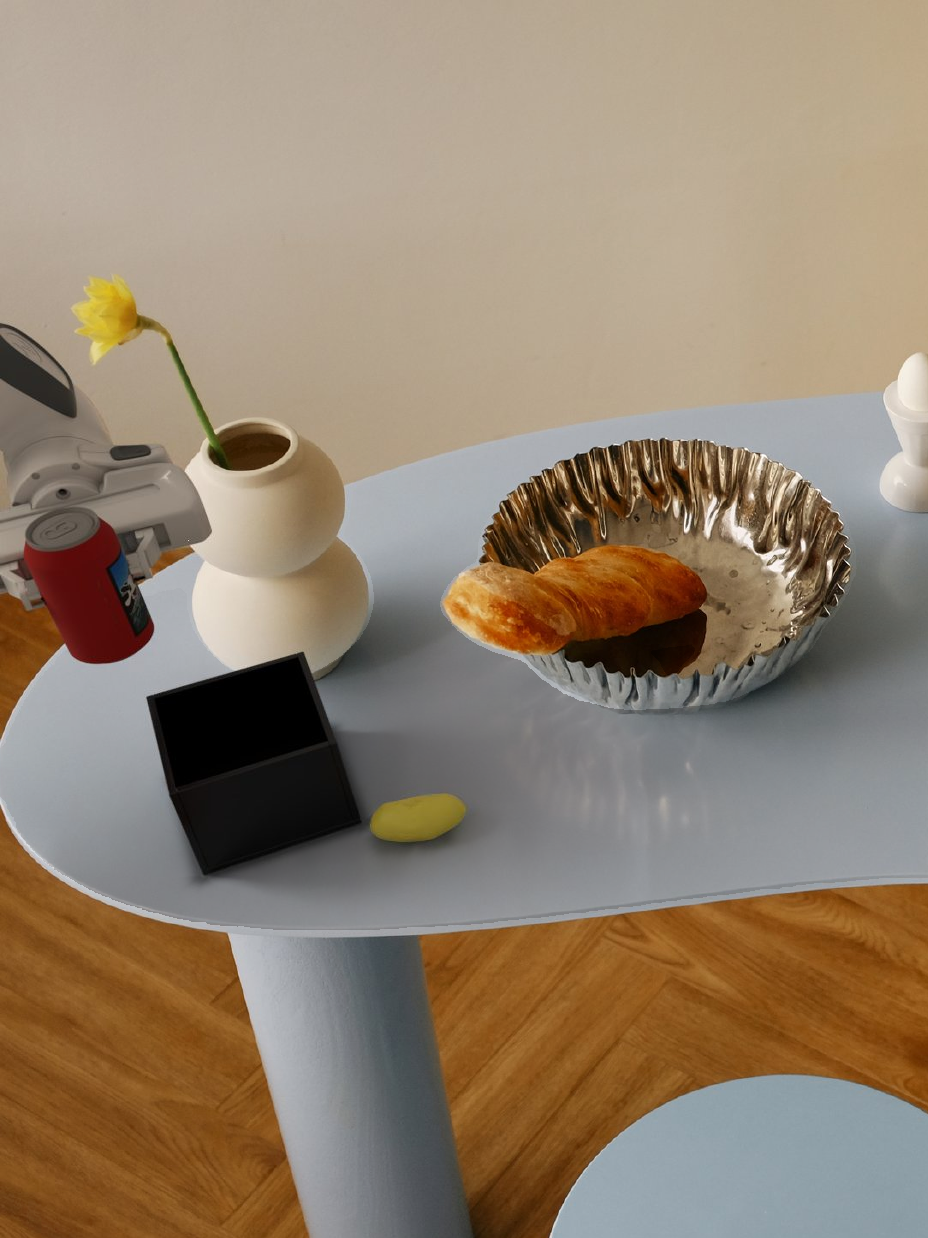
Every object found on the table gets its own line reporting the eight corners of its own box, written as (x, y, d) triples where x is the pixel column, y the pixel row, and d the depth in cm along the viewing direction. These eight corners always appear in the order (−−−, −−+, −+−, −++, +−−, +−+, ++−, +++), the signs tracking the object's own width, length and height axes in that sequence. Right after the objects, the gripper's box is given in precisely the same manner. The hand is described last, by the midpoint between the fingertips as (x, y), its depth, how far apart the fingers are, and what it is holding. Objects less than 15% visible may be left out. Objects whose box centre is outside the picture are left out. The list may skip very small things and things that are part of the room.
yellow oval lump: (376, 821, 130) (366, 789, 127) (470, 809, 131) (462, 778, 128) (372, 856, 127) (363, 824, 124) (469, 844, 128) (461, 813, 125)
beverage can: (174, 640, 124) (124, 522, 116) (99, 683, 121) (42, 564, 113) (130, 608, 128) (79, 491, 120) (55, 648, 124) (-3, 530, 116)
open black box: (203, 875, 125) (168, 794, 119) (179, 776, 134) (145, 696, 128) (362, 823, 130) (336, 742, 124) (328, 730, 139) (303, 650, 132)
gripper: (-81, 499, 123) (-73, 592, 113) (181, 438, 130) (208, 521, 120) (-50, 562, 127) (-40, 656, 118) (202, 499, 134) (230, 583, 125)
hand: (88, 587), depth 119 cm, fingers closed on beverage can, 6 cm apart
